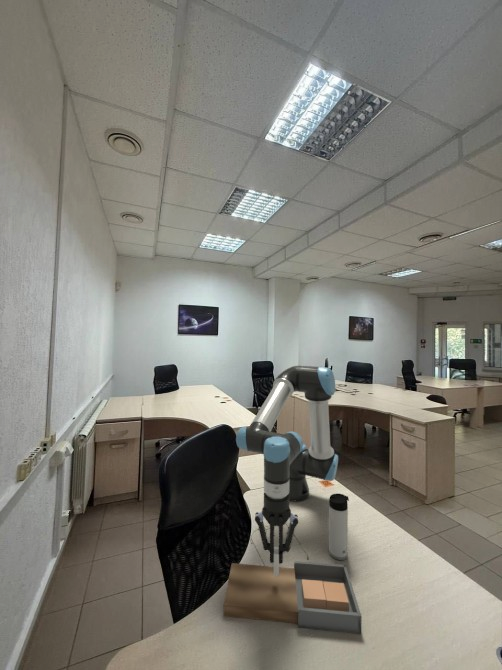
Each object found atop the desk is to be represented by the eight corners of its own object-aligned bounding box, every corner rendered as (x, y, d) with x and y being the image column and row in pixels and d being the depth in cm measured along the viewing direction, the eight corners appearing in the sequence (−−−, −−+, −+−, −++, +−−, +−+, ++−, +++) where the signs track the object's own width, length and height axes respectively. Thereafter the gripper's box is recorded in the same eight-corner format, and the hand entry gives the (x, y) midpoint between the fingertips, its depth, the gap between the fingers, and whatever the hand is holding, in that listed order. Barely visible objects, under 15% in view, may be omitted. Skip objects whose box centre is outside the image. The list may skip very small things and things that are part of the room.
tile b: (322, 589, 82) (322, 581, 82) (343, 591, 81) (343, 583, 81) (326, 609, 76) (326, 600, 76) (348, 611, 75) (348, 602, 75)
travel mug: (349, 562, 93) (350, 502, 93) (329, 559, 94) (329, 500, 95) (347, 548, 99) (347, 492, 100) (328, 545, 101) (328, 490, 101)
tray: (294, 575, 88) (294, 560, 88) (345, 579, 86) (345, 565, 86) (298, 627, 72) (298, 609, 72) (361, 633, 70) (361, 616, 71)
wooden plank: (231, 572, 89) (231, 563, 89) (294, 577, 87) (294, 568, 87) (223, 615, 75) (223, 604, 75) (298, 623, 73) (298, 611, 73)
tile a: (301, 587, 82) (301, 579, 82) (322, 589, 82) (322, 580, 82) (304, 607, 76) (304, 598, 77) (326, 609, 76) (326, 599, 76)
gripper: (253, 498, 78) (253, 582, 78) (300, 501, 77) (299, 586, 77) (255, 484, 85) (255, 560, 85) (297, 486, 84) (297, 563, 84)
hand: (276, 572), depth 81 cm, fingers closed
